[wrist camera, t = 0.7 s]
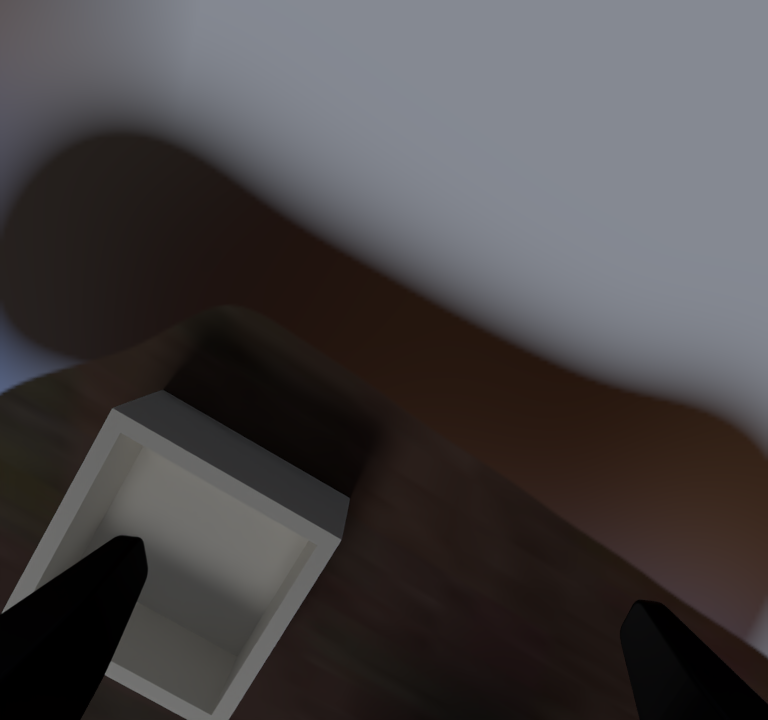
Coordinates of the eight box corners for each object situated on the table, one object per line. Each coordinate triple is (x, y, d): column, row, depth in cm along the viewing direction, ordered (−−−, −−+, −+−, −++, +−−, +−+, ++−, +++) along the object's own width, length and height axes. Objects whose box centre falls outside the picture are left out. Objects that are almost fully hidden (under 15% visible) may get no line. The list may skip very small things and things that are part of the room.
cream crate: (247, 663, 26) (218, 736, 21) (66, 564, 25) (-1, 617, 21) (350, 498, 25) (341, 539, 20) (162, 389, 24) (112, 407, 20)
